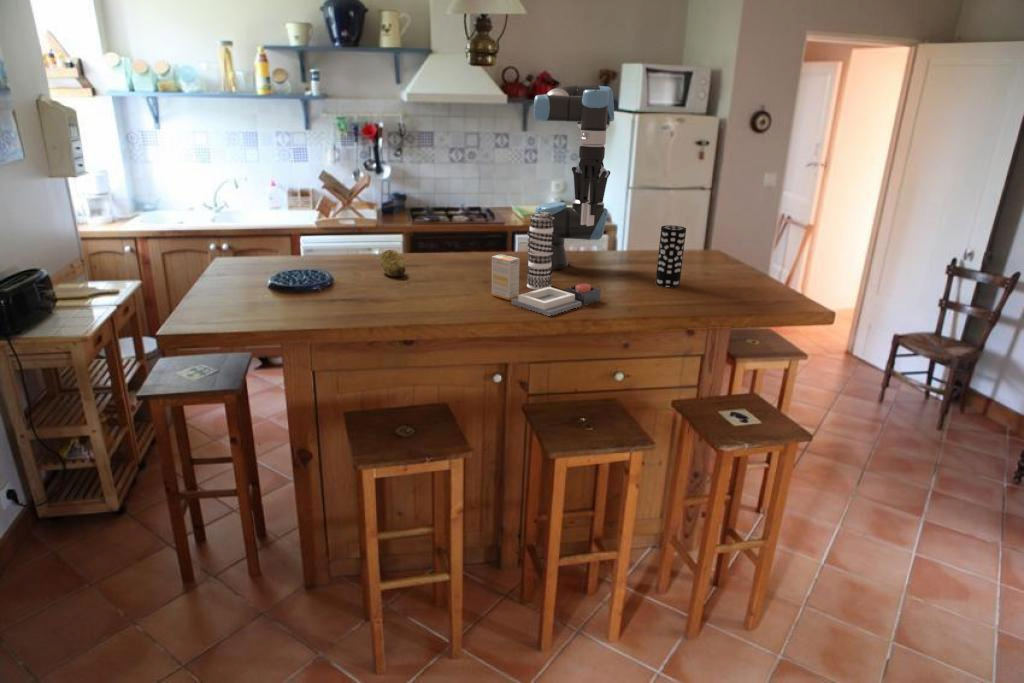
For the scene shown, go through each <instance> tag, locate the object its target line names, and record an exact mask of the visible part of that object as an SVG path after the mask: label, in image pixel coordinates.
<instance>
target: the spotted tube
mask: <svg viewBox="0 0 1024 683" xmlns="http://www.w3.org/2000/svg"><path fill="white" fill-rule="evenodd" d="M686 234H687V228H686V227H684V226H680V225H671V224H670V225H662V226H660V236H659V246H658V253H657V254H658V255H657V264H656V273H655V275H656V276H655V285H656V284H657V285H656V286H658V287H661V286H662V288H666V287H672V288H671V289H674V288H673V287H675V288H678V286H679V287H680V285H681V277H682V276H681V275H682V267H683V260H684V259H683V258H684V250H685V243H686V242H685V241H686V240H685V239H686Z"/></svg>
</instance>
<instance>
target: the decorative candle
mask: <svg viewBox="0 0 1024 683" xmlns="http://www.w3.org/2000/svg"><path fill="white" fill-rule="evenodd" d="M529 219H530V224H529V228H527V236H528V237H527V247H528V248H527V253H528V254H529V255H528V258H529V263H527V264H528V265H527V267H526V268H527V271H526V273H527V276H526V288H528V289H529V290H533V291H535V290H539V289H543V288H546V287H552V284H553V281H552V279H553V276H552V274H553V271H552V266H551V265H552V261H551V255H552V254H553V251H554V250H553V249H551V248H553V247H554V245H552V242H554V241H555V240H554V239H553V238H552V237H555V235H554V234H553V233H552V232H553V219H554V217H552V215H551V214H550V213H548V212H535V211H534V212H533V213H532V215H531V216H529Z"/></svg>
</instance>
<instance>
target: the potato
mask: <svg viewBox="0 0 1024 683" xmlns="http://www.w3.org/2000/svg"><path fill="white" fill-rule="evenodd" d="M380 265H381V267H382V268H383V270H384V273H385V274H386V275H388V276H389V277H394V278H395V277H396V278H400V277H402V276H403V275H404V274H405V273H406V270H407V269H406V266H405V262H404V259H403V256H402V255H401V254H399V253H398V252H397V250H393V249H388V250H385V251H383V252H382V254H381V256H380Z"/></svg>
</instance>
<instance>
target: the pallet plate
mask: <svg viewBox="0 0 1024 683" xmlns="http://www.w3.org/2000/svg"><path fill="white" fill-rule="evenodd" d="M510 302H511V305H513V306H516V305H517V306H516V307H519V308H521V307H523V309H524V308H526V309H525V310H527V309H529V310H528V311H530V310H532V311H531V312H533V311H535V312H534V313H536V312H538V313H537V314H539V313H542V314H544V315H543V316H545V315H547V316H546V317H548V316H550V317H552V316H551V315H553V316H555V315H554V314H556V315H558V314H557V313H560V312H563V313H565V312H564V311H566V312H568V311H567V310H569V311H571V310H570V309H573V308H576V309H578V308H577V307H579V308H581V307H580V306H582V302H580V301H576V300H575V294H572V293H569V292H565V290H562V289H559V288H556V287H552V286H551V287H546V288H543V289H539V290H531V291H529V292H528V291H527V292H525V293H521V294H520V293H519V295H518V298H515V299H511V300H510ZM582 307H583V306H582ZM573 310H574V309H573ZM542 314H541V315H542ZM560 314H561V313H560Z"/></svg>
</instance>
